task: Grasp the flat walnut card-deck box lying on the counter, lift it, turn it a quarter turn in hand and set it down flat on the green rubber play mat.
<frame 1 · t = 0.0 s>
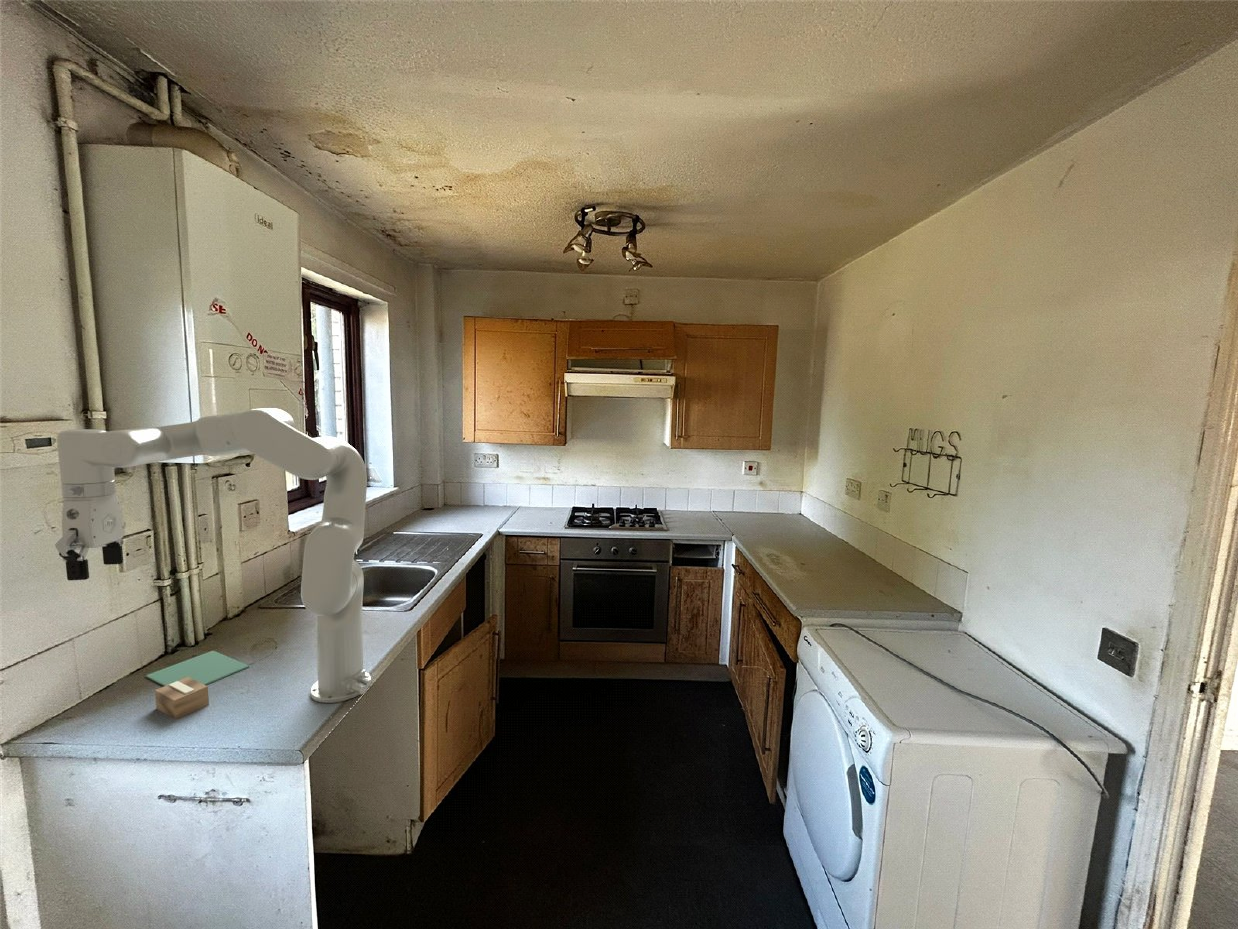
hand: (96, 571, 104), 31 cm above the counter, tool pointing down, fingers open, 9 cm apart
play mat: (198, 672, 123), on the counter
card deck: (182, 707, 110), on the counter
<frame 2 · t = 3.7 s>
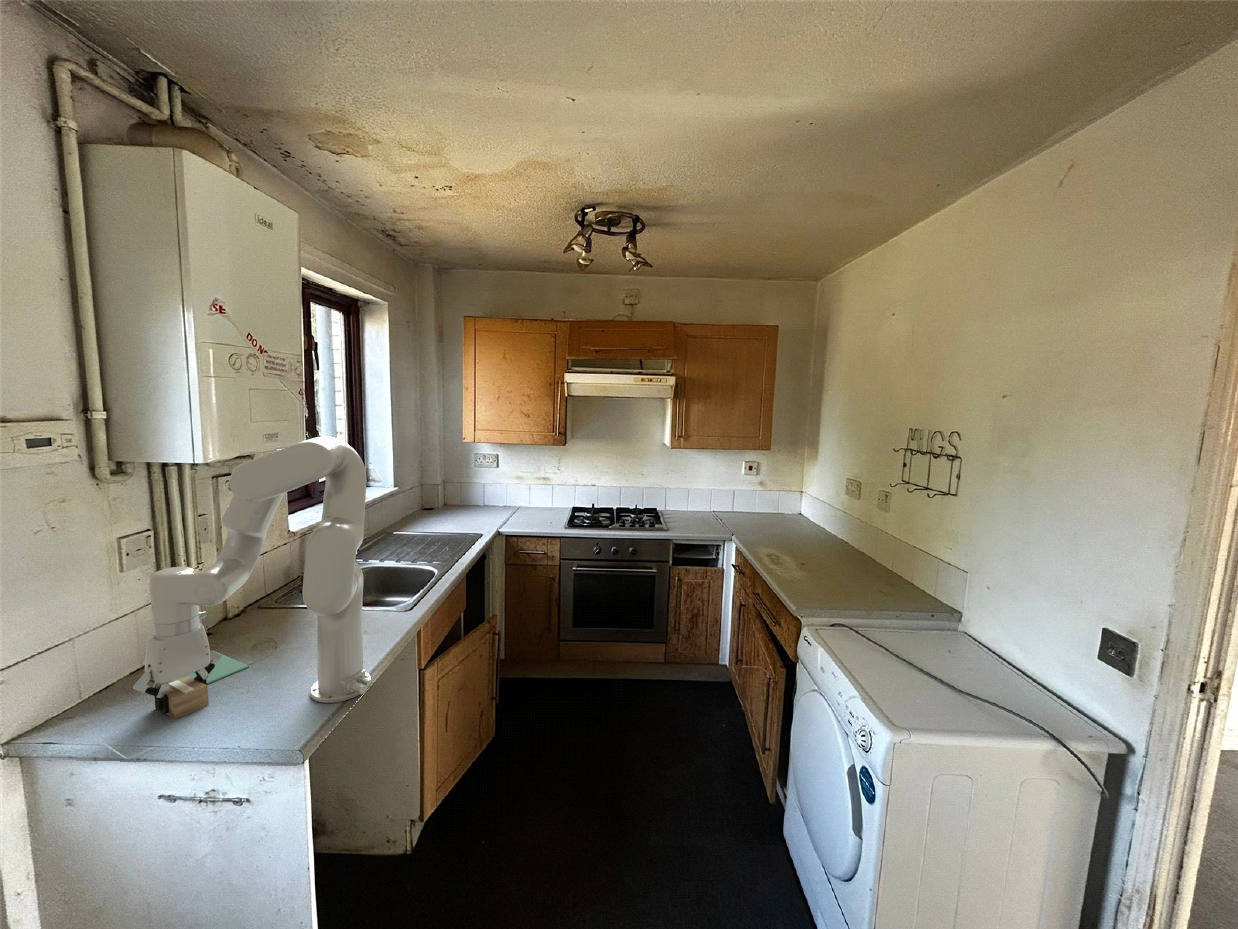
hand: (182, 702, 110), 1 cm above the counter, tool pointing down, fingers closed on card deck, 6 cm apart
card deck: (182, 706, 110), on the counter, touching gripper
when the fingers open (3 cm above the counter, at t = 10.3 s): card deck drops 1 cm, resting on play mat.
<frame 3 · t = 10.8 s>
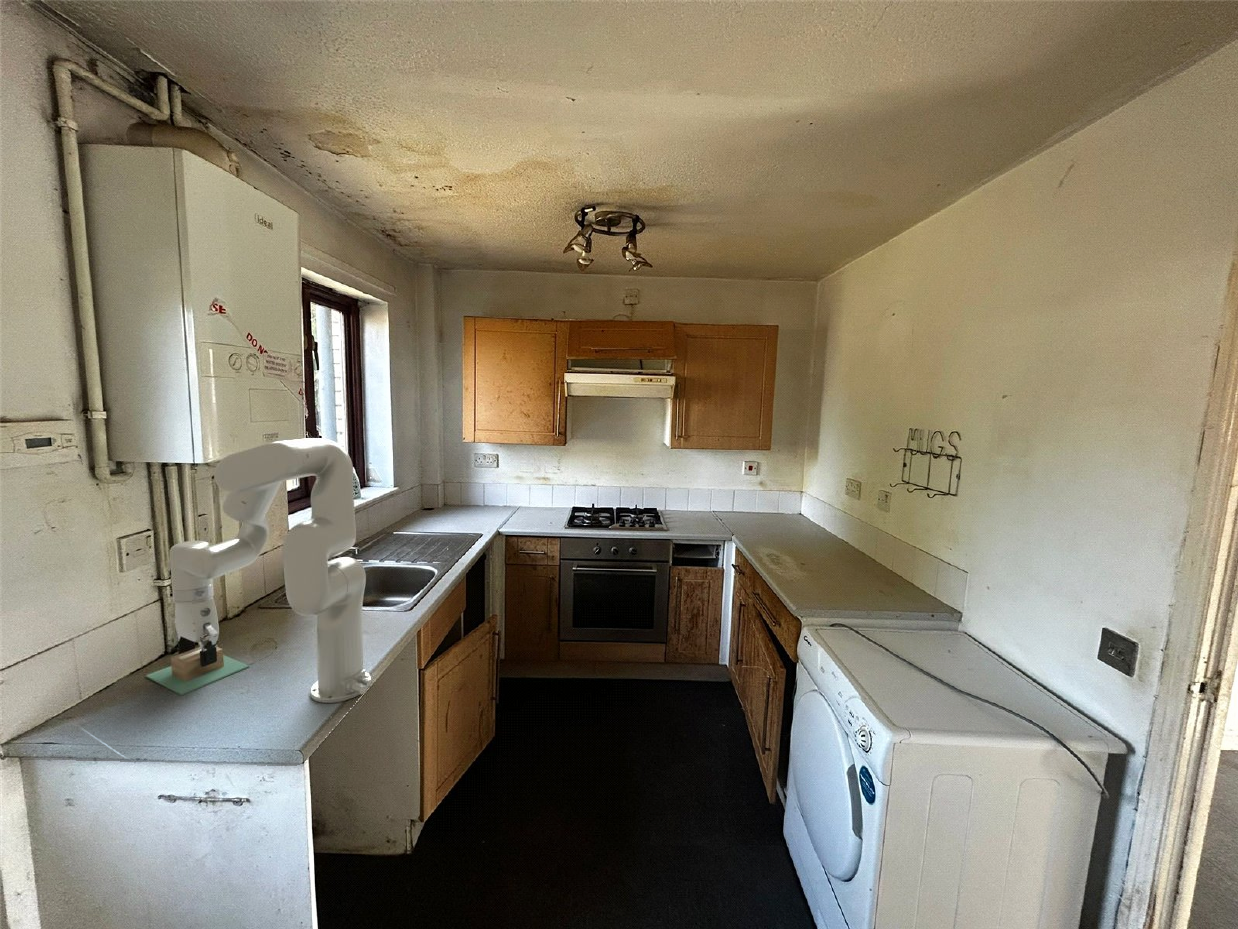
hand: (197, 659, 123), 3 cm above the counter, tool pointing down, fingers open, 9 cm apart
card deck: (198, 670, 123), resting on play mat
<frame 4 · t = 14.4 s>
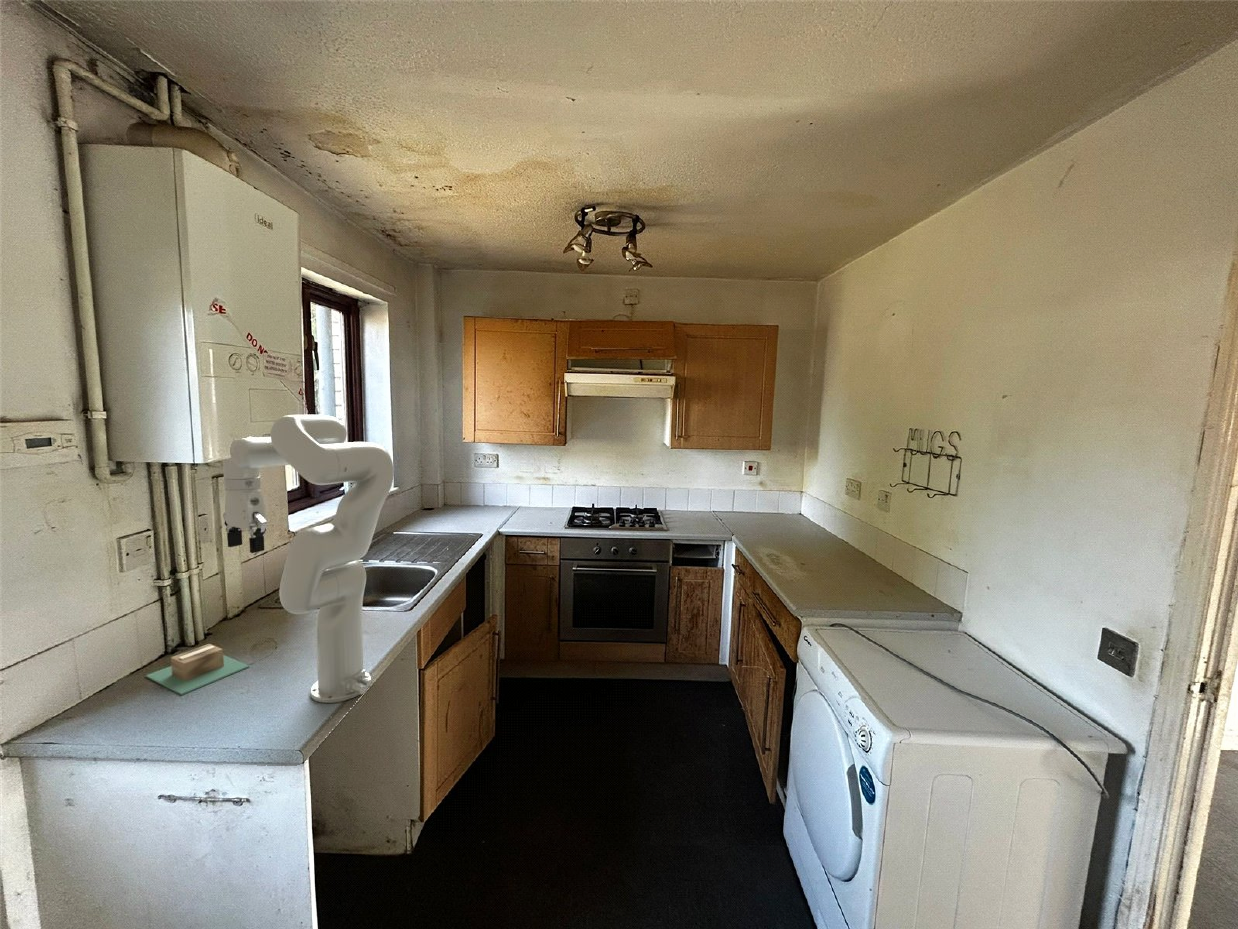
hand: (246, 548, 131), 28 cm above the counter, tool pointing down, fingers open, 9 cm apart
nothing on the counter moved.
at the end: card deck inside the target area on the play mat (0.0 cm from its centre), point 0.4 cm above the play mat's base; card deck tilted 0°; the gripper is holding nothing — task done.
